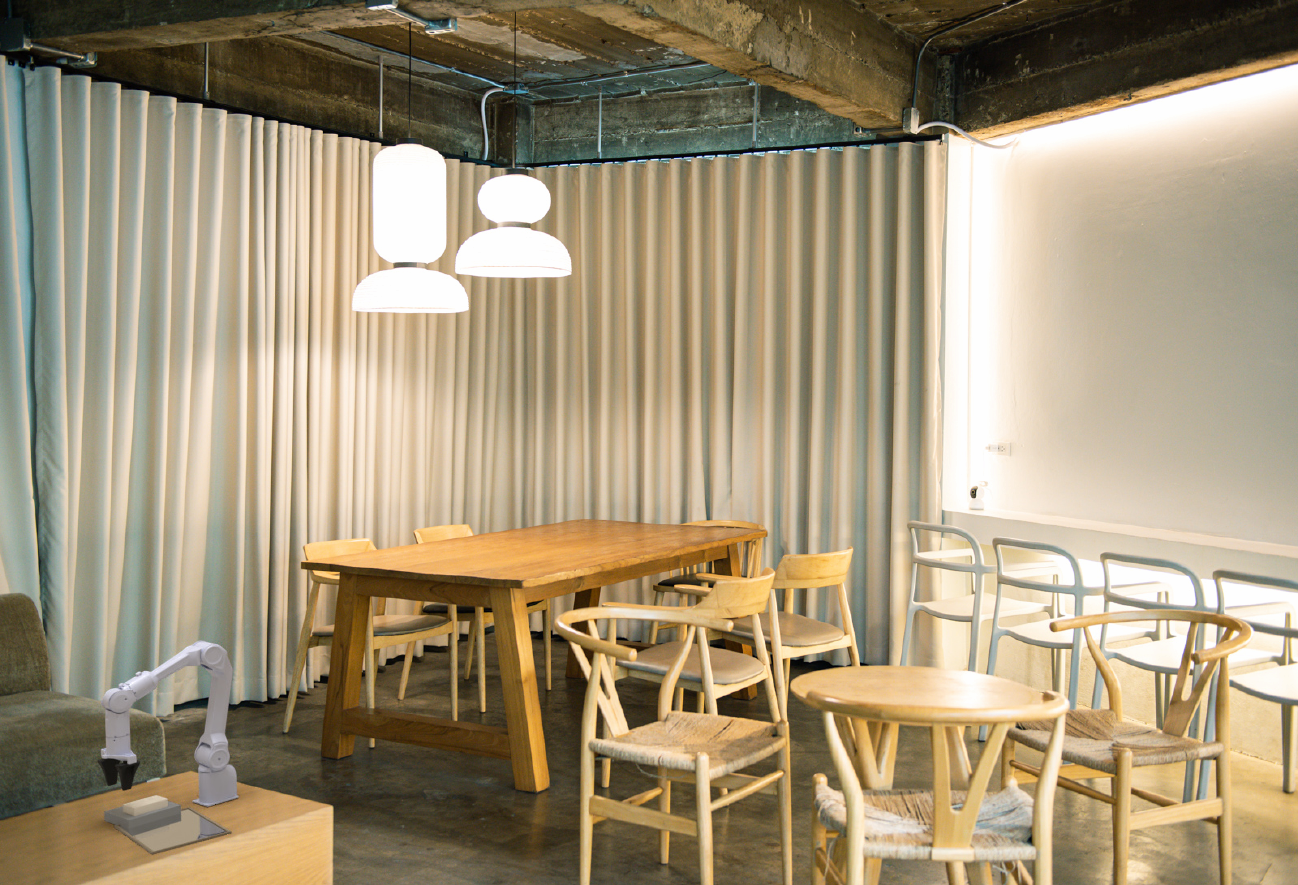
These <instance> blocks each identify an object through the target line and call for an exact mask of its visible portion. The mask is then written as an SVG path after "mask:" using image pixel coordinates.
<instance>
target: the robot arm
mask: <svg viewBox="0 0 1298 885" xmlns="http://www.w3.org/2000/svg"><path fill="white" fill-rule="evenodd" d="M185 667H202V668H204V669H205V670H206V672H208V674H210V676H211V680H210V687H209V694H208V703H207V711H206V718H205V725H204V732H203V734H202V735H201V736H200V738H199V742H198V745H197V747H196V749H195V751H194V754H193V756H194V759H195V761H196V764H198V768H197V770H198V771H197V772H198V774H197V775H198V798H196V799H193V800H191V801H192V803H195V804H197V805H200V806H204V807H211V806H214V805H215V804H216V805H218V804H221V803H225V802H228V801H231V800H236V799H238V798H239V797H240V796H239V795H238V783H237V780H238V779H237V778H238V777H237V776H238V775H237V771H236V768H235V767H234V766H233V764H229V763H230V762H229V761H230V759H231V757H230V756H231V754H230V752H229V741H228V739H227V735H226V727H227V720H228V712H229V711H228V710H229V704H230V696H231V695H230V694H231V688H232V681H233V680H232V679H233V673H234V671H233V670H234V668H233V667H232V664H231V661H230V658H229V657H228V651H227V650H226V649H225V648H223V646H221V645H220V644H217V643H212V642H208V641H205V640H197V641H196V642H194V643H193V644H190V645H188V646H186V647H185V648H184V649H182V650H181V651H180V652H178V653H177V654H175V655H174V656H172V657H171V658H169V659H168V660H166V661H165V662H163V663H162V664H160V665H159V666H158V667H156V668H155V669H153V670H152V671H149V670H143V671H142V672H141V671H137V672H136V673H134V674H135V676H133V677H131V678H130V679H128V680H127V681H126V682H120V683H118V687H115V688H110V689H108V690H107V691H106V692H105V693H104V695H103V696H102V699H101V700H100V704H101V706H102V707H103V708H104V711H105V713H104V715H105V719H104V721H105V722H104V723H105V724H104V726H105V747H103V748H101V749H100V757H101V759H98V760H97V763H98V765H99V766H100V768H101V770H102V772H103V774H104V779H105V782H106V785H107V787H111V786H114V785H117V783H118V780H119V779H120V788H121V791H122V792H125V791H128V790H131V789H132V787H133V784H134V779H135V776H136V772H137V770H138V768H139V766H141V765H140V764H141V761H140V760H137V754H135V753H134V752H133V750H132V749H131V718H130V709H131V708H132V706H133V704H134V703H135V702H137V701H139V700H141V699H142V698H143V697H145V696H146V695H148V694H150V693H152V692H153V691H155V690H157V688H158V684H159V682H161V681H163V680H164V679H166V678H168V677H170V676H172V675H173V674H175V673H176V672H178V671H180V670H182V669H184V668H185ZM118 776H119V779H118Z"/></svg>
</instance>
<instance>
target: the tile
mask: <svg viewBox="0 0 1298 885" xmlns="http://www.w3.org/2000/svg"><path fill="white" fill-rule="evenodd" d="M168 801H169V798H167V797H163V796H160V795H157V794H155V795H152V796H148V797H144V798H141V799H137V800H133V801H131V802H127V803H123V804H122V806H123V812H125V813H127V814H130V815H133V816H137V815H140V814H143V813H147V812H150V811H154V810H157V809H161V808H164V807H167V806H168Z"/></svg>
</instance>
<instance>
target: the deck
mask: <svg viewBox="0 0 1298 885" xmlns="http://www.w3.org/2000/svg"><path fill="white" fill-rule="evenodd" d="M181 809H182V805H181V804H178V803H176V802H173V801H169V800H168V806H167V807H164V808H161V809H157V810H154V811H150V812H147V813H143V814H140V815H137V816H133V815H130V814H127V813H125V812H123V805H122V806H119V807H115V808H110V809H107V810H104V811H103V817H104V821H105V822H106V823H110V824H113V825H118V824H120V825H121V826H123V827H126V828H129V829H130V828H133V827H136V826H140V825H143V824H146V823H150V822H153V821H156V820H160V819H163V818H166V817H170V816H173V815H176V814H180V813H181Z"/></svg>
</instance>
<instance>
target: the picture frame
mask: <svg viewBox="0 0 1298 885" xmlns="http://www.w3.org/2000/svg"><path fill="white" fill-rule="evenodd" d="M113 825H114V824H113ZM114 829H115V830H117V831H118V832H119V833H121V834H122V835H124V836H125V837H127V838H128V839H130V840H131V841H132V842H133V843H135V844H136V843H137V845H138V846H139V847H140V848H142V849H144V850H145V851H146V852H147V853H149V854H150V855H155V854H156V855H157V854H160V853H164V852H167V851H171V850H175V849H179V848H182V847H183V848H184V847H186V846H190V845H193V844H197V843H201V842H205V841H209V840H212V839H216V838H220V837H224V836H227V834H228V835H232V830H230V829H228V828H226V827H225V826H223V825H221V824H220V823H218V822H216V821H215V820H213V819H211V818H209V817H208V816H206V815H204V814H203V813H201V812H199V810H198V811H197V810H195V809H194V808H193V807H191V806H188V807H184V808H183V807H182V808H181V813H180V814H176V815H173V816H170V817H166V818H163V819H160V820H156V821H153V822H150V823H146V824H143V825H140V826H136V827H133V828H130V829H129V828H126V827H123V826H121V825H120V824H118V825H114Z"/></svg>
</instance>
